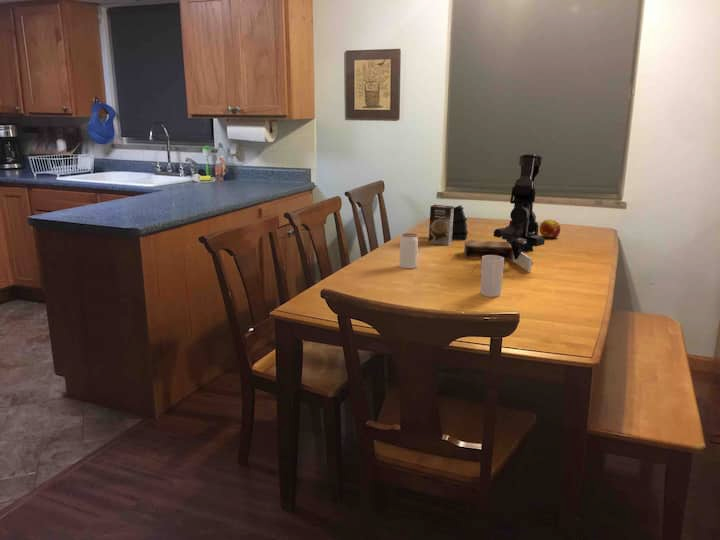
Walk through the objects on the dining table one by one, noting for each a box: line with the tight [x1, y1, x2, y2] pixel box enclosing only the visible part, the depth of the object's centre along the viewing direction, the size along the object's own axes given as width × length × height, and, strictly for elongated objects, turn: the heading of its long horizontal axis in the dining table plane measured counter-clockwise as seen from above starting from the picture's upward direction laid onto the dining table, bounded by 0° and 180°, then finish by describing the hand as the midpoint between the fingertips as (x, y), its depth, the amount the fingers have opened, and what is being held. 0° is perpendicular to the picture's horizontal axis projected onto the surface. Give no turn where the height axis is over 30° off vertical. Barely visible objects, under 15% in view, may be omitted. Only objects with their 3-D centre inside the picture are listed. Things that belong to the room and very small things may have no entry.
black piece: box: [452, 204, 469, 241], centre depth 272 cm, size 4×13×15 cm, turn 66°
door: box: [511, 251, 534, 273], centre depth 227 cm, size 17×2×5 cm, turn 7°
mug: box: [479, 255, 505, 298], centre depth 190 cm, size 10×7×12 cm, turn 170°
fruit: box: [539, 219, 561, 239], centre depth 277 cm, size 10×9×8 cm
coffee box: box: [428, 204, 455, 246], centre depth 261 cm, size 9×6×16 cm
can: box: [398, 232, 419, 270], centre depth 222 cm, size 6×6×12 cm
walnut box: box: [464, 239, 513, 261], centre depth 241 cm, size 18×10×5 cm, turn 82°
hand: (516, 259), depth 226 cm, fingers closed
